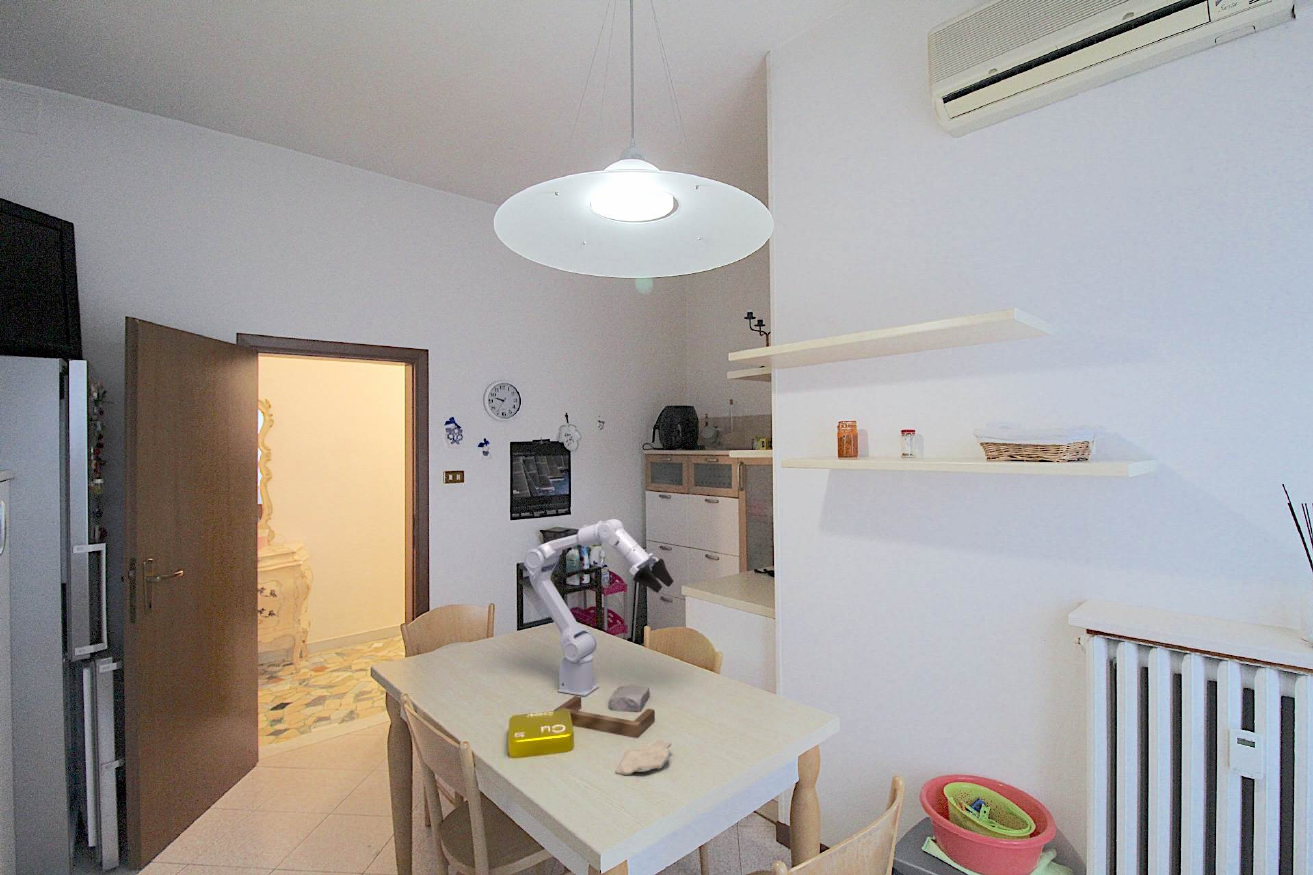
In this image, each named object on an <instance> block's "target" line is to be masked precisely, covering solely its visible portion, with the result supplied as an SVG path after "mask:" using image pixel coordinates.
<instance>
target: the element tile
mask: <svg viewBox="0 0 1313 875" xmlns="http://www.w3.org/2000/svg"><path fill="white" fill-rule="evenodd" d="M574 733H575V731H574V726H573V725H572V720H571V715H570V712H569V711H567V710H560V711H554V710H553V711H552V710H551V711H544V712H543V711H542V712H532V713H524V714H515V715H512V716H511V717H510V718H509V720H508V739H507V741H508V742H507V744H508V745H507V746H508V747H507V748H508V750H507V751H508V757H510V758H511V759H522V758H528V757H529V758H530V757H531V758H532V757H540V756H546V755H555V754H563V753H569V752H572V751H573V750H574V748H575V734H574Z"/></svg>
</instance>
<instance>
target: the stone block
mask: <svg viewBox="0 0 1313 875" xmlns="http://www.w3.org/2000/svg"><path fill="white" fill-rule="evenodd" d="M650 693H651V692H650V686H649V685H648V686H645V685H640V684H632V683H631V684H627V685H622V686H618V687H617V688H616V690H614V691H613V692H612V694H611V695H610V696H609V699H608V706H609V708H610V710H611V711H614V712H622V713H625V712H629V713H640V712H642V710H643V708H644V706H645V705H646V702H647V701H648V699H649V697H650Z"/></svg>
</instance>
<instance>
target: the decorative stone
mask: <svg viewBox="0 0 1313 875" xmlns="http://www.w3.org/2000/svg"><path fill="white" fill-rule="evenodd" d="M671 746H672V742H668V741H664V740H656V741H652V742H649V743H646V744H645V745H641V746H637V747H633V748H631V749H628V750H626V752H625V753H624V755H623V757H622V758H621V760H620V762H619V763H618V766H617V768H616V770H615V773H616V774H617V775H619V776H620V775H621V776H628V775H629V776H630V775H632V774H633V773H634V772H635V773H636V772H638V773H643V772H644V773H645V772H649V771H650V770H654V769H658V770H660V769H662V767H664V765H665V764H666V762H667V761H668V760H669V757H670V749H669V748H670V747H671Z"/></svg>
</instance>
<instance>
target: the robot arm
mask: <svg viewBox="0 0 1313 875" xmlns="http://www.w3.org/2000/svg"><path fill="white" fill-rule="evenodd" d="M602 543H608V544H609V545H610V546H611V547H612V548H613V549H614V550H615V551H616V552H617V553H618V554H619V555H620V556H621V557H622V558H623V560H624V561H625V562H626V563H627V564H628V565H629V566H630V569H629V570H628V571H629V572H630V573H631V575H632V576H634V577H633V581H634V583H639V584H642V585H643V586H645V587H647V588H648V589H650V590H652V592H654V593H658V594H659V592H660V591H661V590H662V588H663V586H662V584H664V585H665V586H666V587H668V588H669V587H670V586H671V585H673V583H674V579H673V578H672V576H671V574H670V573H669V571H668V569H667V567H666V564H665V560H664V559H663V558H660V559H658V558H657V556H655V555H654V553H653V552H651V553H649V554H648V552H647V551H646V550H644V549H643V547H642V546H640V545H639V544H638V542H637V541H636V540H635V539H634V538H633V537H632V536H631V535H630V534H629V533H628V532H627V531H626V530H625V528H624V525H623V523H622V521H620V519H616V518H611V519H608V520H604V521H603V520H599V521H597V523H594V524H591V525H590V524H588V523H587V524H584V525H582V527H580V528H579V530H578V531H577V533H576V534H574V535H569V536H565V537H561V538H557V539H553V540H550V541H548V542H545V543H543V544H539V545H538V546H536V548H531V549H529V550H527V552H526V553H525V557H524V561H523V565H524V567H525V568H526V571H527V572H528V576H529V581H530V584H531V587H532V588H533V590H534V591H535V593H536V595H537V596H538V598H539V599H540V601H541V603H542V604H543V606H544V608H545V610H546V611H547V612H548V614H549V616H550V617H551V619H552V621H553V622H554V624H555V626H556V628H558V630H559V632H560V634H561V635H560V640H559V644H560V646H561V647H562V653H563V656H564V657H563V658H562V659H561V662H560V664H559V666H558V667H559V668H558V669H559V670H558V673H559V674H558V675H559V679H558V680H559V682H558V684H559V689H557V692H558V693H559V692H560V693H563V694H564V693H565V694H571V695H575V696H580V697H581V696H582V697H586V696H587V697H588V695H589V694H591V693H592V692H594V691H595V690H597V689H598V688H600V685H599V684H594V652H595V651H596V650H597V648H598V647H597V646H598V642H597V638H596V637H595V635H594V634H593V633H592V632H590V631H589V630H588V629H587V627H586V626H584V625H583V624H580V623H578V621H577V620H576V618H575V617H574V614H573V613H572V612H571V610H570V609H569V606H567V604H566V603H565V600H564V599H563V598H562V596H561V594H560V593H559V591H558V589H557V588H556V586H555V585H554V583H553V582H552V580H551V578H552V577H551V576H552V574H553V572H554V570H555V568H556V566H557V564H558V563H559V560H560V555H562V553H563V550H566V549H568V548H572V547H575V546H578V545H580V546H582V547H584V548H588V547H592V546H595V545H600V544H602ZM661 583H662V584H661Z"/></svg>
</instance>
